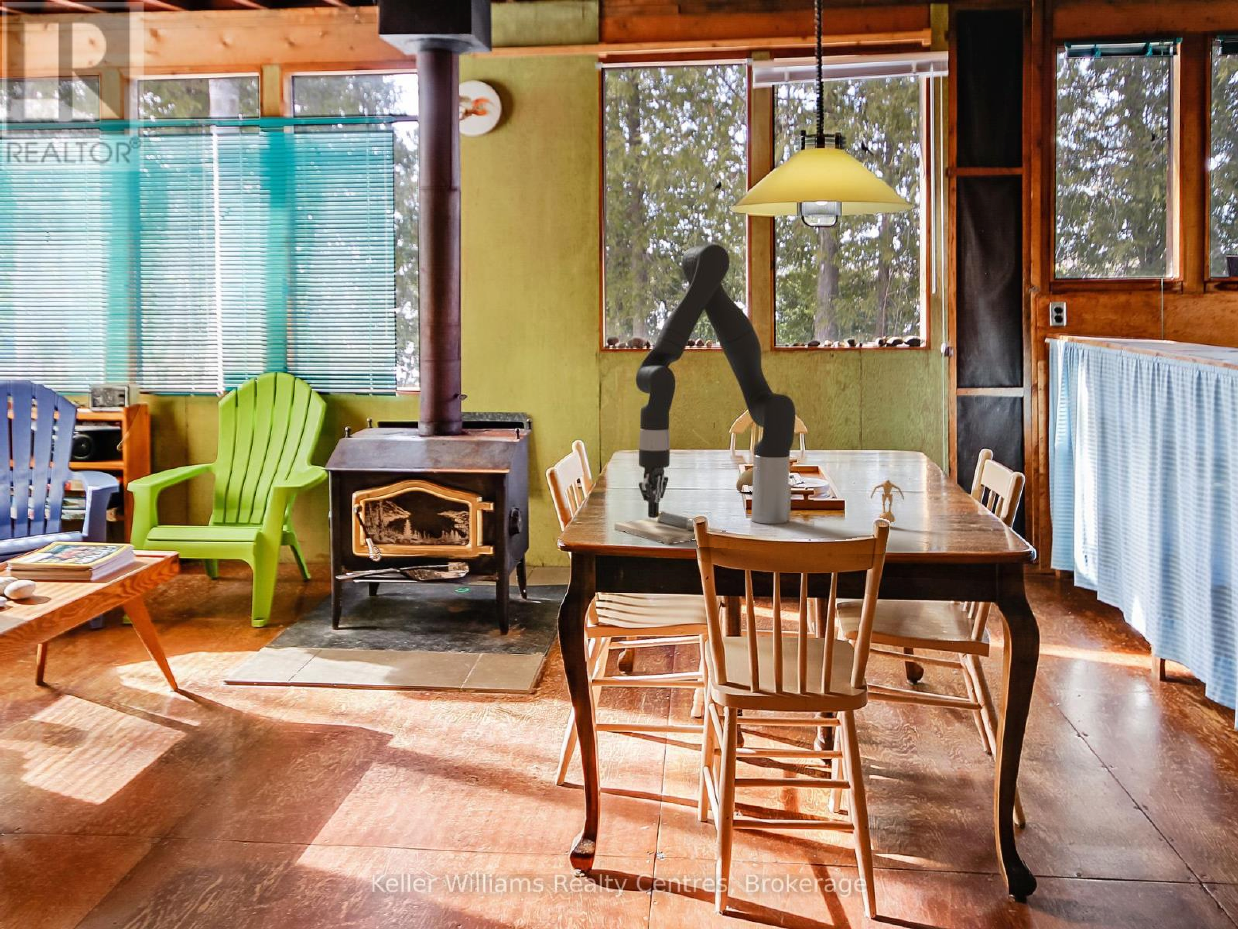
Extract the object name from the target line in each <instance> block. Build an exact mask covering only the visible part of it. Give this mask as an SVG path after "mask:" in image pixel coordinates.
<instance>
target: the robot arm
mask: <svg viewBox="0 0 1238 929" xmlns="http://www.w3.org/2000/svg"><path fill="white" fill-rule="evenodd" d="M681 266H682V271H683V274H684V276H685V278H686V281H687V282H688V283H689V285H690V286H689V288H688V290H687V292H686V293H685V294H684V295H683V297H682V299H681V300H680V301H679V303H677V306H676V307H675V308H674V309H673V310H672V311H671V313H670V314H669V316H668V317H667V319H666V320H665V322H664V324H663V326H662V328H661V330H660V333H659V335H658V337H657V339H656V341H655V344H654V346H652V349H651V350H650V351H649V352H648V353H647V355H646V357H644V359H643V361H642V362H641V364H639V367H638V369H637V371H636V376H635V383H636V387H637V388H638V390H639V391H641V392H643V393H644V394H649V397H648V402H647V403H646V404H644V405H643V406H641V409H640V422H639V423H640V425H639V426H640V430H639V437H638V465H639V467H640V468H644V470H643V480H642V481H643V482H641V481H640V482H639V483H638V488H639V491H640V493H641V496H642V498H643V501H645V502H647V503H648V506H647V517H648V518H649V519H654V518H658V516H659V511H660V508H659V507H660V506H659V504H660V502H661V499H663V498H664V495H665V492H666V488H667V485H668V483H669V477H668V476H665V470H664V469H666V468H668V467H669V466H670V464H671V462H670V460H671V458H670V457H671V455H670V454H671V453H670V452H671V450H670V449H671V437H670V411H671V407H672V403H673V400H674V395H675V392H676V390H675V389H676V378H675V375H674V372H673V370H672V369H671V368H670V365H671V364H672V363H674V362H677V361H679V360H680V359H681V358H682V356H683V353H684V351H685V349H686V347H687V344H688V342H689V339H690V337H691V336H692V333H693V331H694V329H695V327H696V325H697V323H698V322H699V319H700V317H701V315H702V313H703V312H705V314H706V316H707V319H708V320H709V322H710V325H711V327H712V329H713V332H714V333H715V336H716V338H717V340H718V342H719V345H720V347H721V349H722V352H723V353H724V355H725V357H726V360H727V362H728V363H729V366H730V368H731V370H732V373H733V374H734V376H735V378H736V381H737V383H738V385H739V387H740V390H741V393H742V396H743V399H744V401H745V405H746V408H747V410H748V413H749V415H750V419H751V420H752V421H753V422H754V423H755V425H756V426H758V427H760V428H763V429H762V437H761V439H760V440H759V441H758V442H756V443H755V444H754V447H753V462H752V463H753V465H752V466H753V467H752V468H753V491H752V492H751V493H752V494H751V495H752V498H751V499H752V500H751V521H752V522H755V523H760V524H761V523H762V524H769V525H770V524H774V525H775V524H776V525H777V524H785V523H787V522H788V521H787V520H790V521H791V501H792V485H791V484H790V483H789V478H790V457H791V456H790V454H791V452H790V451H791V448H792V447H793V443H794V439H795V426H796V408H795V403H794V402H793V400H792V398H791V397H789V396H788V395H786V394H781V393H777V392H773V391H772V389H771V387H770V385H769V384H768V381H767V380H766V377H765V374H764V372H763V368H762V348H761V343H760V340H759V338H758V335H757V333H756V330H755V328H754V326H753V324H752V322H751V321H750V319H749V317H748V316H747V315H746V314H745V312H744V311H743V310H742V309H741V308H740V307H739V306H738V305H737V304H736V303H735V302H734V300H733V299H731V297H730V296H729V295H728V294H727V292H726V290H725V289H724V287H723V285H722V282H723V279H724V278H725V277H726V275H727V273H728V271H729V268H730V256H729V253H728V252H727V250H726V249H725V248H724V247H723V246H722V245H719V244H716V243H713V244H712V243H711V244H708V243H707V244H703V245H696V246H692V247H690V248H688V249H687V250H685V252H684V254H683V255H682V258H681ZM786 521H787V522H786ZM784 522H785V523H784Z"/></svg>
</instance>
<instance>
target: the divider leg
mask: <svg viewBox="0 0 1238 929" xmlns="http://www.w3.org/2000/svg"><path fill="white" fill-rule="evenodd" d="M657 518H658V522H663V523H667V524H671V525H675V526H679V527H683V528H687V530H694V527H693V520H694V518H695V517H687V516H682V515H677V514H674V513H669V512H666V511H665V510H659V516H658V517H657Z"/></svg>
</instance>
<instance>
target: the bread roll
mask: <svg viewBox="0 0 1238 929" xmlns="http://www.w3.org/2000/svg"><path fill="white" fill-rule="evenodd" d="M743 485H748V486H753V467H750V468H749V469H747V470H745V471H743V472H742V473H741V475H740V476H739V477H738V479H737V481H736V484H735V486H736V490H737V491H738V492H739V491H741V490H742V486H743Z"/></svg>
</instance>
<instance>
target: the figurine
mask: <svg viewBox="0 0 1238 929" xmlns="http://www.w3.org/2000/svg"><path fill="white" fill-rule="evenodd" d="M880 488H882V489H883V492H884V493H882V494H881V501H882V512H881V514H879V516H878V519H879V518H883V519H887V520H889V521H890V523H891V522H894V521H896V520H895V519H896V518H895V515H894V514H893V513H892V509H891V507H892V506H893V504H892V503H893V497H894V496H893V495H894V494H893V493H891V491H892V488H893V489H896V490H898V491H899V493H900V495H901V498H902V501H904V500H905V497H904V494H903V492H902V491H901V488H900V487H899V486H897V485H895V484H894V483H892V482H891V480H889V479H887V480H885V481H884V482H883V483H880V484H879V485H876V486H875V487H874V489H873V491H872V492H871V495H870V499H873V497H874V494H875V492H876V490H877V489H880ZM887 499H888V501H889V504H888V511H886V501H887ZM894 523H895V522H894Z"/></svg>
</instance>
